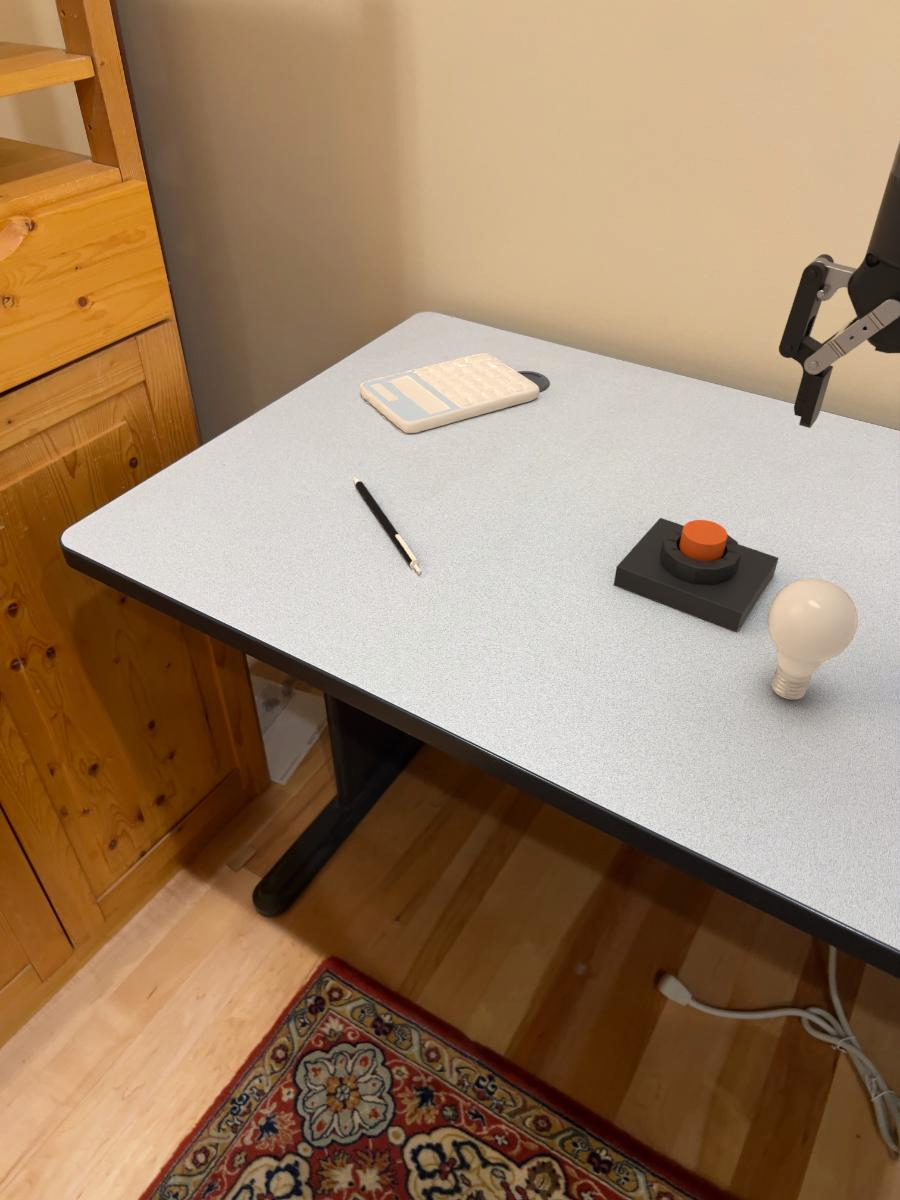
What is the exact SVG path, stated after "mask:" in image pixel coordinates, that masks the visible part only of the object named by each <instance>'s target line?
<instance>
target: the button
mask: <svg viewBox="0 0 900 1200" xmlns="http://www.w3.org/2000/svg"><path fill="white" fill-rule="evenodd" d="M683 526H684V527H683V530H682V535H681V539H680V544H679V549H680V551H681V552H682V553H683V554H684V555H685V556H687V557H690V558H693V559H696V560H699V561H715V560H718V559H720V558H721V557H722V556H723V553H724V549H725V545H726V541H727V537H728V535H729V534H728V532H727V530H726V528H725V527H724V526H722V525H721V524H719V523H717V522H715V521H711V520H708V519H707V520H706V519H694V520H690V521H688V522H686V523H685V524H684V525H683ZM727 534H728V535H727Z"/></svg>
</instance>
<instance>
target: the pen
mask: <svg viewBox="0 0 900 1200" xmlns="http://www.w3.org/2000/svg"><path fill="white" fill-rule="evenodd" d="M352 479H353V482H354V486H355V488H356V490H357V492H358V493H359V494H360V496H361V497H362V499H363V500H364V501H365V503H366V504H367V506H368V507H369V509H370V510H371V511H372V513H373V514H374V516H375V517H376V519H377V520H378V522H379V523H380V525H381V526H382V528H383V529H384V531H385V532H386V534H387V535H388V537H389V538H390V539H391V541H392V542H393V544H394V545H395V546H396V548H397V550H398V551H399V553H400V554H401V555H402V557H403V558H404V560H405V561H406V563H407V564H408V566H409V567H410V568H411V569H412V570H415V571H416V573H417V574H418V575H422V573H423V572H422V570H421V569H420V562H419V561H418V559H417V557H416V556H415V555H414V552H413V551H412V550H411V549H410V548H409V546H408V544H407V543H406V541H405V540H404V539H403V537H402V536H401V534H399V532H398V531H397V529H396V528H395V527H394V525H393V524H392V522H391V520H389V518H388V517H387V515H386V513H385V512H384V511H383V509H382V508H381V506H380V505H379V503H377V501H376V499H375V498H374V496H373V495H372V494H371V493H370V491H369V490H368V488H367V487H366V485H365V484H364V483H363V481H361V480H360V479H359V478H357V477H356V476H353V478H352Z"/></svg>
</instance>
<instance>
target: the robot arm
mask: <svg viewBox="0 0 900 1200" xmlns="http://www.w3.org/2000/svg"><path fill="white" fill-rule="evenodd" d="M801 273H802V274H801V276H800V279H799V283H798V286H797V290H796V292H795V295H794V298H793V302H792V305H791V308H790V311H789V315H788V317H787V321H786V324H785V327H784V329H783V333H782V336H781V338H780V339H781V340H780V342H779V346H778V353H779V355H780V356H782V357H783V358H785V359H792V360H794V361H795V362H797V363H798V364H799V365H800V366H801V368H802V375H801V379H800V383H799V386H798V391H797V394H796V399H795V401H794V406H793V411H794V412H793V413H794V416H797V417H800V420H799V423H798V424H799V425H798V426H801V427H804V428H808V429H810V428H812V427H813V425H814V424H815V423H816V421H817V420H818V418H819V415H820V413H821V410H822V405H823V402H824V399H825V395H826V392H827V388H828V385H829V381H830V380H831V379H830V378H831V375H832V372H833V368H834V366H833V365H832V364H834V363H835V362H837V361H838V360H839V359H840V358H843V357H845V356H847V354H849V353H850V352H852V351H853V350H854V349H856V348H857V347H859V346H860V345H862V344H863V343H864V342H865V341H867V342H868V343H869V344H870V345H872V346H873V347H874V351H875V352H880V353H884V354H900V140H899V141H898V144H897V148H896V152H895V155H894V158H893V162H892V165H891V168H890V171H889V175H888V178H887V182H886V185H885V189H884V192H883V195H882V198H881V202H880V205H879V209H878V211H877V215H876V219H875V223H874V226H873V229H872V232H871V236H870V239H869V243H868V246H867V249H866V253H865V256H864V258H863V259H862V262H861V263H860V265H859V266H858V267H857V268H856V267H852V266H847V265H843V264H840V263H835V260H834V258H833V257H832V256H831V255H830V254H827V253H823V254H820V255H818V256H817V257H816V258H815V259H814V260H812V261H811V262H810V263H808V265H807V266H806V267H805V268H803V271H802V272H801ZM841 288H846V290H847V295H848V297H849V300H850V302H851V305H852V307H853V310H854V312H855V315H856V316H855V317H854V318H852V319H851V320H849V321H848V322H847V323H846V324H845V325H843V326H842V327H841V328H840V329H838V330H837V331H836V332H835V333H833V334H832V335H831V336H830V337H827V338H826V339H825V340H824V341H823V342H820V341H818V340H817V339H815V338H814V337H812V336H811V335H812V331H813V328H814V325H815V324H816V323H815V322H816V319H817V316H818V314H819V312H820V311H819V310H820V308H821V306H822V305H821V304H822V302H826V301H828V300H830V299H832V297H833V296H834V295H836V293H837V291H838V290H839V289H841Z"/></svg>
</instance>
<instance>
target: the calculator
mask: <svg viewBox="0 0 900 1200" xmlns="http://www.w3.org/2000/svg"><path fill="white" fill-rule="evenodd" d="M359 393H360V395H361V397H362V398H363V399H365V400H366V401H367V402H368V403H369V404H370V405H372V406H373V407H374V408H375V409H376V410H377V411H378V412H380V413H381V414H382V415H383V416H384V417H386V418H387V419H388V420H389V421H390V422H391V423H393V424H394V425H395V426H396V427H397V428H399V429H400V430H401V431H402V432H404V433H407V434H416V433H420V432H424V431H427V430H431V429H435V428H438V427H442V426H445V425H449V424H453V423H456V422H460V421H463V420H467V419H470V418H474V417H478V416H482V415H485V414H489V413H493V412H496V411H499V410H503V409H506V408H510V407H514V406H517V405H518V406H519V405H521V404H525V403H528V402H532V401H534V400H536V399H538V397H539V396H540V388H539V386H538V385H537V384H536V383H535V382H533V381H532V380H531V379H530V378H528V377H526V376H524V375H523V374H521V373H519V371H516V370H515V369H513V368H512V367H510V366H509V365H507V364H506V363H504V362H503V361H501V360H500V359H498V358H496V357H495V356H493V355H491V354H490V353H486V352H481V353H476V354H471V355H467V356H463V357H459V358H454V359H450V360H447V361H443V362H439V363H435V364H431V365H430V364H429V365H427V366H422V367H418V368H414V369H410V370H406V371H402V372H398V373H394V374H389V375H385V376H381V377H377V378H372V379H369V380H366V381H363V382H362V383H360V385H359Z"/></svg>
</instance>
